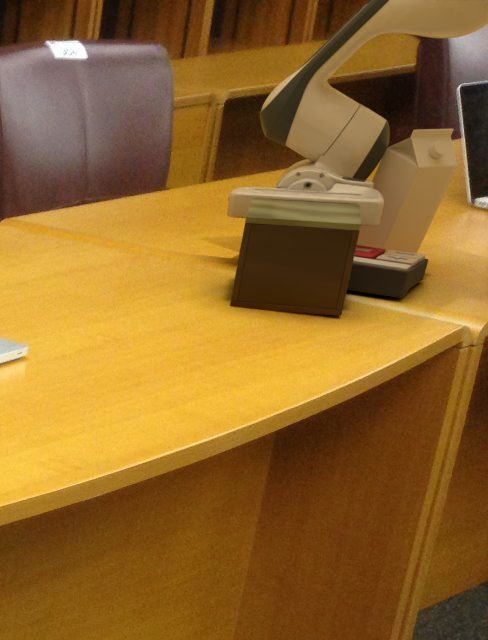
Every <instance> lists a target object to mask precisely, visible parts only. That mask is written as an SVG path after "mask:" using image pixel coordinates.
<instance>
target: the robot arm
mask: <svg viewBox="0 0 488 640" xmlns="http://www.w3.org/2000/svg"><path fill="white" fill-rule="evenodd" d="M487 25H488V0H368V1H366V3H365V4H363V6H362V7H360V8H359V9H357V11H356V12H355V13H354V14H353V15H352V16H350V17H349V19H348V20H347V21H346V22H344V23H343V25H342V26H340V27H339V29H338V30H337V31H336V32H334V33H333V34H332V35H331V37H329V39H327V40H326V41H325V42H324V43H323V44H322V45H321V46H320V47H319V48H318V49H317V50H316V51H315V53H313V54H312V56H311V57H310V58H308V60H306V61H305V62H304V63H303V64H302V65H301V66H300V67H299V68H298V69H296V71H294V72H293V73H292V74H290V75H289V76H288V77H286V78H285V79H284V80H283V81H281V82H280V83H279V84H278V85H277V86H275V87H274V89H273V90H271V92H270V93H269V94H268V96H267V97H266V99H265V100H264V102H263V104H262V107H261V109H260V111H259V120H260V126H261V129H262V131H263V135H264V137H265V138H267V139H269V140H271V141H273V142H275V143H277V144H279V145H281V146H284V147H287V148H289V149H291V150H292V151H293V152H295V153H297V154H299V155H300V156H301V157H303V158H305V159H302V160H299V161H297V162H295V163H293V164H291V165H290V166H289V167H288V168H286V169H285V170H284V171H283V172H282V174H280V176H279V178H278V180H277V181H276V183H275V187H267V186H238V187H236V188H234V189H233V190H232V191H230V194H229V195H228V198H227V201H228V204H227V211H226V212H227V213H226V215H227V217H229V218H234V219H246V216H247V213H248V210H249V206H250V203H251V200H252V198H255V199H271V200H288V201H304V202H321V203H337V204H354V205H360V216H361V227H363V226H370V227H374V226H378V225H379V223H380V219H381V215H382V210H383V205H384V198H383V196H382V194H381V193H380V192H379V191H378V190H376V189H373V187H374V183H373V182H372V180H367V179H368V178H369V177H370V176H371V175H372V174H373V172H374V171H375V170H376V168H378V166H379V164H380V161H381V159H382V157H383V155H384V154H385V152H386V149H387V148H388V147H389V144H390V132H391V131H390V130H391V129H390V124H389V122H388V119H386V118H384V117H383V116H381V115H379V114H378V113H376V112H375V111H373V110H371V108H369V107H367V106H365V105H363V104H362V103H359V102H357V101H355V100H354V99H353V98H351V97H350V96H348V95H346V94H344V93H343V92H341V91H339V90H338V89H336V88H334V87H333V86H331V85H330V83H329V81H328V80H329V78H330V77H331V76H333V74H334V73H335V72H337V71H338V70H339V69H340V68H341V67H342V66H343V65H344V64H345V63H346V62H347V61H348V60H349V59H350V58H351V57H352V56H353V55H354V54H355V53H356V52H358V50H359V49H360V48H361V47H363V45H365V44H366V43H367V42H369V41H370V40H371V39H373V38H376V37H378V36H382V35H387V34H388V35H389V34H401V35H411V36H418V37H425V38H432V39H454V38H460V37H465V36H468V35H471V34H473V33H476V32H478V31H479V30H481V29H483V28H484V27H485V26H487Z"/></svg>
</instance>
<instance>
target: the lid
mask: <svg viewBox="0 0 488 640" xmlns="http://www.w3.org/2000/svg"><path fill="white" fill-rule="evenodd" d="M245 223H253V224H269V225H284V226H299V227H314V228H329V229H344V230H360V227H361V216H360V205H354V204H337V203H321V202H304V201H288V200H271V199H255V198H252V200H251V203H250V206H249V210H248V213H247V216H246V218H245V221H244V224H245Z"/></svg>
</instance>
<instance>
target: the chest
mask: <svg viewBox="0 0 488 640" xmlns="http://www.w3.org/2000/svg"><path fill="white" fill-rule="evenodd" d="M359 232H360V231H359V230H344V229H329V228H314V227H299V226H284V225H269V224H253V223H245V222H244V227H243V232H242V237H241V243H240V247H239V253H238V258H237V263H236V270H235V275H234V280H233V284H232V285H233V286H232V290H231V297H230V302H229V307H234V308H244V309H252V310H253V309H255V310H267V311H277V312H278V311H279V312H290V313H299V314H300V313H302V314H313V315H314V314H315V315H325V316H335V317H341V316H342V314H343V309H344V304H345V301H346V296H347V291H348V290H347V287H348V282H349V278H350V273H351V269H352V264H353V259H354V255H355V250H356V246H357V241H358V236H359Z"/></svg>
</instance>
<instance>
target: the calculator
mask: <svg viewBox="0 0 488 640" xmlns="http://www.w3.org/2000/svg"><path fill="white" fill-rule="evenodd" d="M385 250H386V249H381V248H374V247H368V246H361V245H357V246H356V250H355V255H354V259H353V264H352V269H351V273H350V278H349V282H348V287H347V291H354V292H360V293H366V294H373V295H377V296H378V295H379V296H386V297H391V298H396V299H401V298H403V297H405V296H406V295H407V294H408V293H409V290H410V289H411V288H412V287H414V286H416V285H417V284H418V283H420V282H422V281H423V280H424V277H425V274H426V270H427V267H428V263H429V259H428V258H426V254H422V253H417V254H416V253H409V252H402V251H395V250H389V251H388V252H386V253H385Z"/></svg>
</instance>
